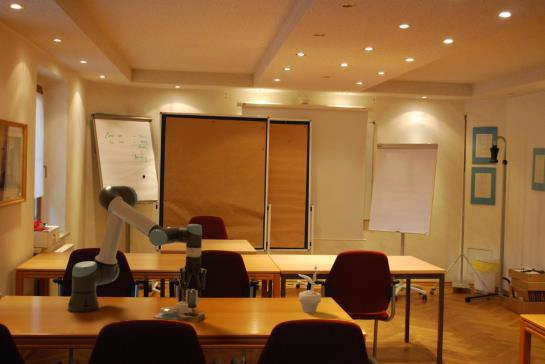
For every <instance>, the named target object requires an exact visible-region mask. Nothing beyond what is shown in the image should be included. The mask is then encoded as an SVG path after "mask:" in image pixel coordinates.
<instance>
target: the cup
mask: <svg viewBox="0 0 545 364" xmlns="http://www.w3.org/2000/svg"><path fill="white" fill-rule="evenodd" d="M175 307H176V309H179V312H178V313H176V315H181V314H182V313H188V312H193V309H192V308H188V303H187V304H186V302H182V301H181V302H179V303H178V302H177V303H176V305H175ZM187 316H188V314H187Z"/></svg>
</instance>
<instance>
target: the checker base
mask: <svg viewBox="0 0 545 364" xmlns="http://www.w3.org/2000/svg"><path fill="white" fill-rule="evenodd" d="M178 316H179V315H176V314H162V313H160V312H159V313H157V314H155V315H154V316H152V319H153V318H154V319H160V320H169V321H170V320H171V321H178Z"/></svg>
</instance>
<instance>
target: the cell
mask: <svg viewBox="0 0 545 364" xmlns="http://www.w3.org/2000/svg"><path fill="white" fill-rule="evenodd" d="M196 291H197V290H196V289H194V288H191V289H189V291H188V308H194V309H197V308H198V304H196Z"/></svg>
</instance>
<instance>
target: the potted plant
mask: <svg viewBox="0 0 545 364" xmlns="http://www.w3.org/2000/svg"><path fill="white" fill-rule="evenodd" d="M313 269H314V271H315V272H313V275H312V278H311V277H310V276H308V275H305V274H300V273H298V276H299V277H301V278H303V279H304V280H306V281H307V282H308V283H309V284H310V285H311V286H310V290H309V289H308V290H304V291H301V292H299V295H298V301H299V302H300V304H301V308H302V312H304V313H305V314H315V313H316V311H317V308H318V306H319V304H320V303H321V302H322V294H321V293H320V292H317V291H314V285H315V284H314V283H315V282H316V280H317V275H318V274H319V270H318V269H319V268H318V267H317V265H315V267H313Z"/></svg>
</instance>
